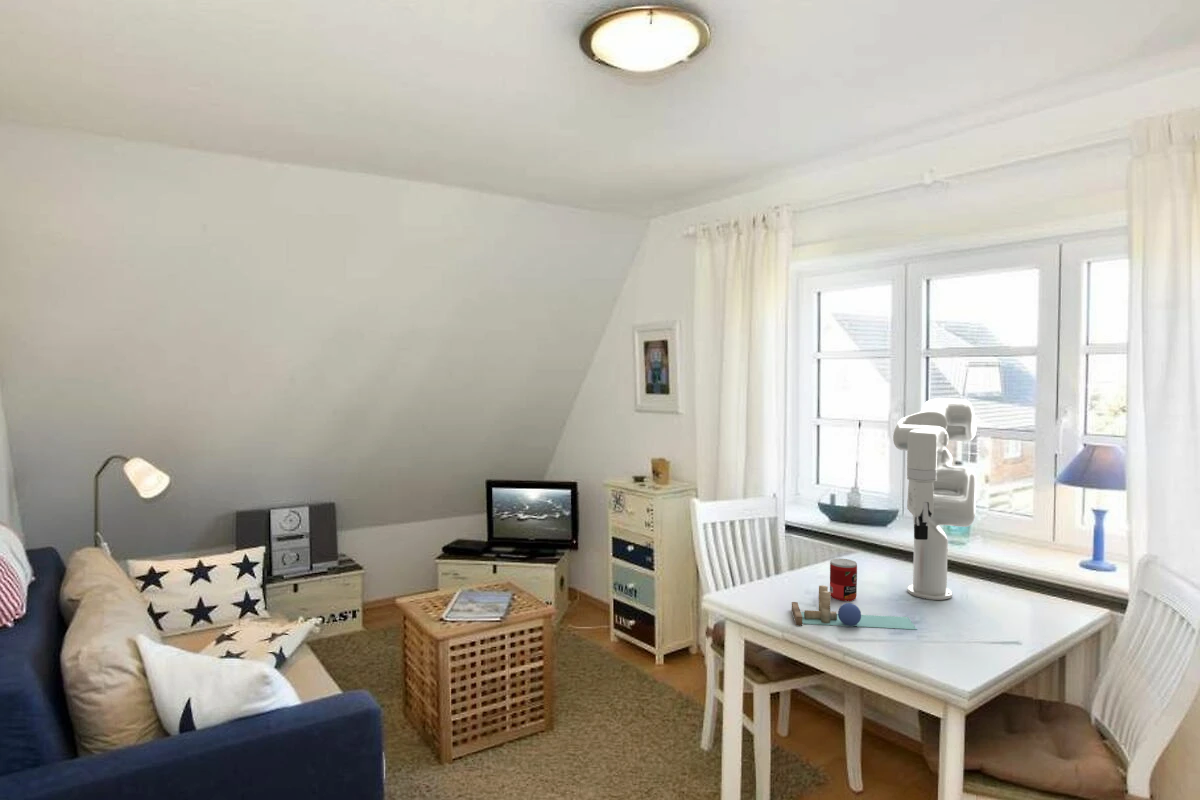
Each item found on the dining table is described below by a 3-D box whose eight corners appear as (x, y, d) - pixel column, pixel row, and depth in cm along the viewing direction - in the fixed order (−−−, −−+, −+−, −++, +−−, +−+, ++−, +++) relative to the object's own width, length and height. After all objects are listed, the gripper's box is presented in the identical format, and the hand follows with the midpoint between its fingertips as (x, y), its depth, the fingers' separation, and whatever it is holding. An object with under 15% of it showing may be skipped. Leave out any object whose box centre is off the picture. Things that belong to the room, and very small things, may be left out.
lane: (798, 612, 207) (798, 611, 207) (908, 617, 203) (908, 617, 203) (802, 623, 198) (802, 623, 198) (917, 629, 194) (917, 629, 194)
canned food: (847, 603, 215) (848, 567, 214) (824, 596, 221) (824, 561, 220) (861, 597, 220) (862, 562, 219) (838, 591, 226) (838, 556, 225)
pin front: (835, 618, 203) (804, 617, 204) (835, 610, 202) (804, 608, 203) (836, 621, 200) (805, 620, 201) (837, 613, 200) (805, 612, 201)
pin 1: (817, 614, 206) (818, 585, 205) (826, 614, 205) (827, 585, 205) (819, 617, 203) (819, 587, 203) (827, 617, 203) (828, 588, 202)
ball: (834, 601, 198) (855, 596, 198) (834, 613, 201) (855, 608, 201) (843, 620, 193) (865, 614, 193) (843, 632, 197) (864, 627, 197)
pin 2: (820, 620, 201) (820, 590, 200) (829, 621, 200) (829, 591, 200) (821, 623, 198) (822, 593, 198) (830, 624, 198) (831, 594, 197)
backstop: (791, 610, 209) (791, 601, 209) (797, 610, 209) (797, 602, 209) (796, 625, 197) (796, 616, 197) (802, 625, 197) (802, 616, 197)
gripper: (901, 468, 207) (900, 530, 209) (913, 479, 192) (912, 546, 194) (929, 468, 205) (928, 531, 207) (944, 480, 191) (942, 547, 193)
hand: (920, 538), depth 201 cm, fingers closed
